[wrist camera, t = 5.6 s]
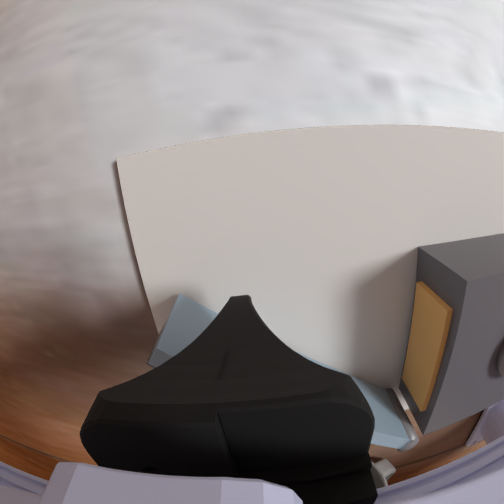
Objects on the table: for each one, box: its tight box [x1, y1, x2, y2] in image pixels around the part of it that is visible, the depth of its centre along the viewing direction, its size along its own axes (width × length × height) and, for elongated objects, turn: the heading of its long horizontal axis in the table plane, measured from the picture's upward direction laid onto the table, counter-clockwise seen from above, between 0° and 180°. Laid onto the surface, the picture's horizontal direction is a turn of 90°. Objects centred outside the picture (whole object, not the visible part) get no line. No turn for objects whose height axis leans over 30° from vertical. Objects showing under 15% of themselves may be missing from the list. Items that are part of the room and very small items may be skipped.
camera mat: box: [116, 125, 504, 410], centre depth 14 cm, size 22×17×1 cm
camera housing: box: [399, 233, 504, 435], centre depth 12 cm, size 9×9×5 cm
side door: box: [146, 294, 419, 452], centre depth 13 cm, size 2×14×4 cm, turn 59°
